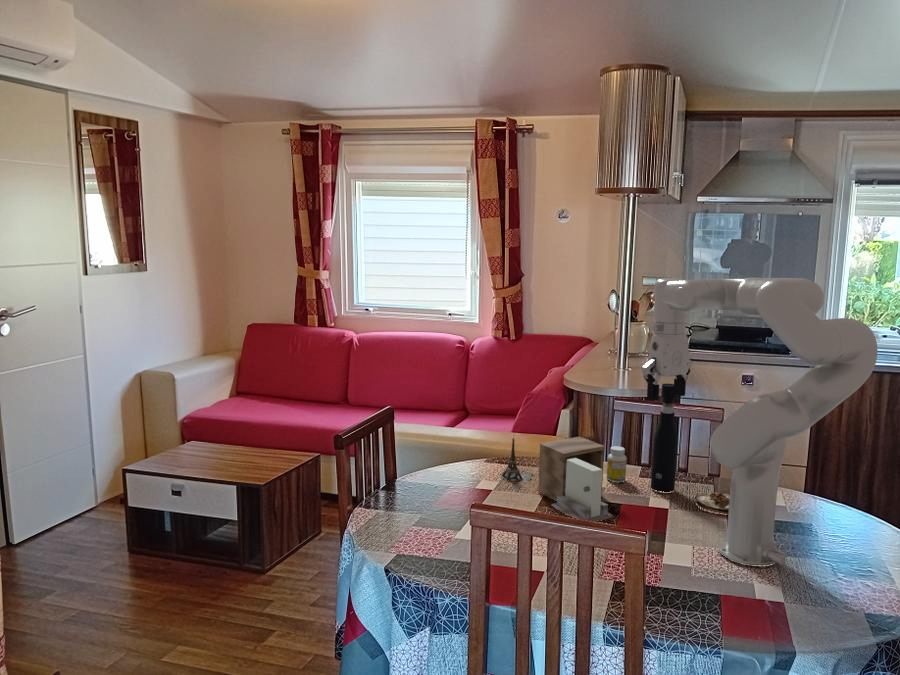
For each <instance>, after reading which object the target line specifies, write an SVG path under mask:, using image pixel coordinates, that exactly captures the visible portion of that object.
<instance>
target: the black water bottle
mask: <svg viewBox="0 0 900 675" xmlns="http://www.w3.org/2000/svg"><path fill="white" fill-rule="evenodd" d="M673 392H674V383H662V385H661V394H660V396H661V397H662V398H663V400H662V401H663V402H662V405H661V409H660V410H661V411H660V412H659V413H660V414H659V422H658V425H657V427H656V429H655V433H654V436H653V445H652V459H651V460H652V461H651V462H652V463H651V474H650V475H651V476H650V489H651V488H652V489H654V490H657V491H662V492H663V491H664V492H670V491H673V490H674V491H675V488H676V486H675V485H676V471H677V458H678V456H677V455H678V444H679V441H678V434H677V428H676V425H675V412H674V409H675V407H674V406H675V405H674V399H675V398H677V395H675V394H674V393H673Z"/></svg>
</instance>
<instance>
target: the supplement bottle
mask: <svg viewBox="0 0 900 675" xmlns="http://www.w3.org/2000/svg"><path fill="white" fill-rule="evenodd" d="M609 452H610V453H609V454H608V455H607V464H606V466H607V467H606V468H607V469H606V480H607V479H608V480H610V481H614V482H623V481H625V482H626V478H627V477H626V475H627V461H628V460H627V459H628V458H627V456H626V455H625V453H626V449H625V448H624V447H623V446H618V445H615V446H611V447H610V451H609ZM608 480H607V481H608ZM610 481H609V482H610ZM623 483H624V482H623Z"/></svg>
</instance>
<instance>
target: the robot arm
mask: <svg viewBox="0 0 900 675" xmlns="http://www.w3.org/2000/svg"><path fill="white" fill-rule="evenodd" d="M824 303H825V294H824V291H823V289H822V288H821V286H820V285H819V284H818V283H817V282H814V280H811V279H808V278H802V277H746V278H696V279H695V278H694V279H683V278H675V277H674V278H670V277H669V278H664V277H663V278H659V279H657V280H656V282H655V286H654V304H653V305H654V306H653V307H654V308H653V326H652V333H653V334H651V335H652V336H651V341H650V345H649V353H648V361H647V362H646V363H645V364H644V365H643V366H641V372H642V375H643V379H644V380H645V383H646V384H647V385H646V386H647V389H646V399H648V400H651V401H656V402H657V401H659V399H660V384H659V382H660V380H661V378H662V377H663V378H664V377H665V378H667V377H675V378H674V379H673V384H674V392H673V393H674V394H675V395H676V396H680V397H685V396H686V390H687V389H686V386H687V380H688V379H689V377H688V376H689V374H690V373H691V368H692V366H693V361H692V360H691V359H690V355H689V353H690V352H689V340H688V335H687V334H686V324H687V313H691V312H692V313H694V312H701V311H702V312H703V311H736V312H737V311H738V312H740V313H741V314H742V315H744V316H746V317H748V318H749V317H753V318H762V320H763V321H764V322H765V323H766V324H767V326H768V327H769V328H770V329H771V331H773V332H774V334H775V335H776V336H777V337H778V338H779V339H780V340H781V341H782V343H784V345H785V346H786V347H787V348H788V349H789V350H790V352H791V353H793V355H794V356H795V357H797V358H798V359H799V360H801V361H802V362H804V363H806V364H809V365H815V366H814V367H813V368H811V369H809V370H808V371H806V373H804V374H803V375H801V377H800V378H799V379H798V380H796V381H795V382H794V383H792V384H791V385H790V386H788V387H786V388H784V389H783V390H782V389H781V390H779V391H778V390H777V391H773V392H769V393H764V394H760V395H757V396H754V397H752V398H750V399H749V400H747V401H746V402H744V404H742V405H741V406H740V407H739V408H738V409H737V410H736V411H734V412H733V413H732V414H731V415H729V417H727V418H726V419H725V420H724V421H722V423H720V424H719V425H718V426H717V427H716V428H715V430H714V431H713V433H712V434H711V437H710V443H709V445H710V446H709V447H710V452H711V454H712V457H713V458H714V460H715V461H717V463H719V464H720V465H722V466H724V467H725V468H726V467H727V468H731V469H732V473H731V479H730V480H731V481H730V488H729V489H730V492H729V495H730V501H729V513H728V516H727V526H726V528H727V529H726V539H723V540H721V541H720V542H719V543H718V546H717V549H718V550H719V551H718V552H720V553H721V554H722V555H723V556H725V557H726V558H728V559H730V560H733V561H735V562H739V563H743V564H749V565H762V566H763V565H770V564H774V563H777V564H778V565H780V566H784V565H785V563H786V558H787V556H788V553H787V552H784V551H782V550H779V549H778V541H777V540H774V532H775V531H774V529H775V519H776V509H777V508H776V507H777V497H778V490H779V480H780V479H779V478H780V473H781V468H782V464H783V462H784V457H785V454H786V451H787V450H786V449H787V439H788V438H792V437H795V436H798V435H801V434H803V433H805V432H806V431H808V430H809V429H810V428H812V426H814V425H815V424H816V423H817V422H819V421H820V420H821V419H822V418H824V417H825V416H826V415H828V414H829V413H831V412H832V411H833V410H834V409H835V408H836V407H837V406H839V405H840V404H841V403H843V402H844V401H845V400H847V399H848V398H850V397H851V396H852V395H853V394H854V393H855V392H856V391H858V389H860V388H861V387H862V386H863V385H864V384H865V382H867V380H868V379H869V378H870V376H871V375H872V373H873V371H874V370H875V367H876V364H877V360H878V342H877V338H876V336H875V334H874V331H873V330H872V329H871V328H870V326H868V325H867V324H866V323H865V322H864V321H861V320H858V319H854V318H848V317H847V318H846V317H842V318H838V317H837V318H830V319H820V318H819V317H818V316H817V315H816V314H818V313H819V311H820V310H821V309H822V308H823V306H824ZM720 553H719V554H720ZM721 554H720V555H721ZM722 555H721V556H722ZM723 556H722V557H723ZM725 557H724V558H725ZM726 558H725V559H726ZM728 559H727V560H728ZM730 560H729V561H730Z"/></svg>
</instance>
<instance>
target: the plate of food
mask: <svg viewBox="0 0 900 675" xmlns="http://www.w3.org/2000/svg"><path fill="white" fill-rule="evenodd" d="M694 499H695V501H696V503H697V504H698V506H699V507H701V508H703V509H706V510H710V511H714V512H719V513H724V514H728V513H729V501H730V494H728V493H722V492H720V491H718V492H717V491H714V492H710V493H709V492H701V493H697V495H695V497H694ZM696 503H695V504H696Z"/></svg>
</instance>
